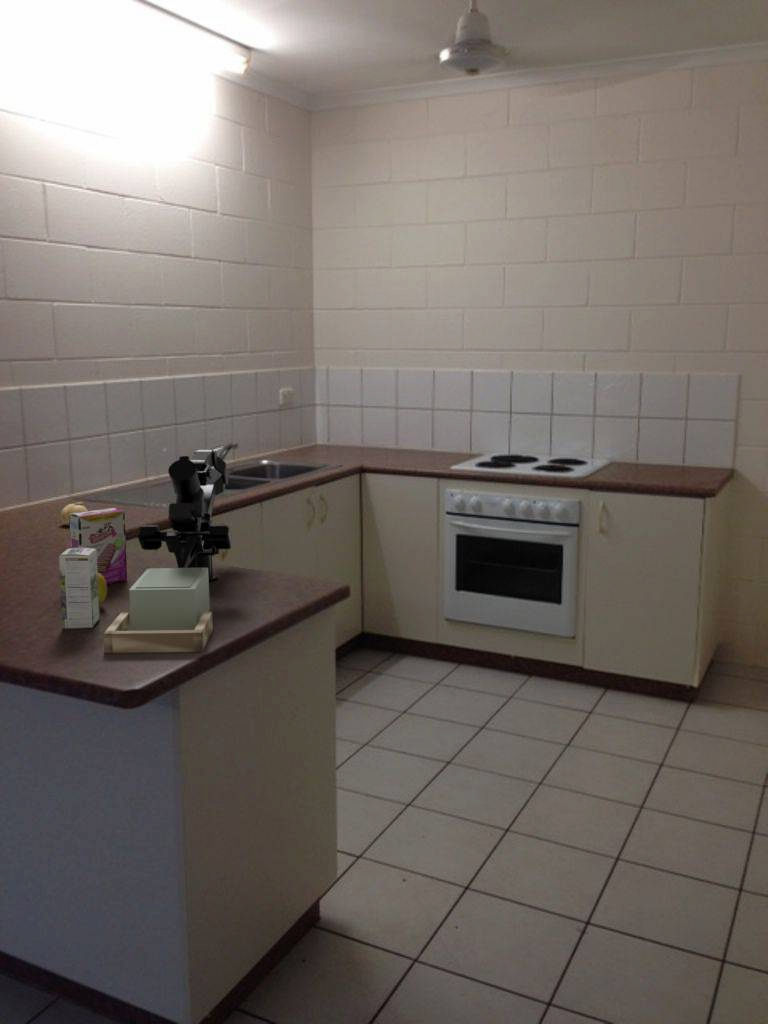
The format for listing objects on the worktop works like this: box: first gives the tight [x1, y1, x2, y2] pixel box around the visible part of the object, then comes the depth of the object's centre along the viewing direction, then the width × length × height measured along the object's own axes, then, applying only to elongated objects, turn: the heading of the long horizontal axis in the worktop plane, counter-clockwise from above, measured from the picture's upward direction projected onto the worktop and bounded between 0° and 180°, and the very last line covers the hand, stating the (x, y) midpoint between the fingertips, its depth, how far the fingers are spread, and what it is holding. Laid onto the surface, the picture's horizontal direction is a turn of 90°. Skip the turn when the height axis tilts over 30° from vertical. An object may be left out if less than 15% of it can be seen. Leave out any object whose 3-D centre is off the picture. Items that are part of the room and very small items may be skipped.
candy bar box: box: [69, 507, 128, 585], centre depth 205 cm, size 11×5×16 cm, turn 134°
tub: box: [128, 567, 211, 631], centre depth 177 cm, size 16×12×9 cm
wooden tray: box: [102, 611, 214, 654], centre depth 167 cm, size 12×17×4 cm
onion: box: [59, 500, 89, 527], centre depth 270 cm, size 8×8×7 cm
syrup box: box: [58, 547, 100, 630], centre depth 175 cm, size 6×6×14 cm
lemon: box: [98, 573, 108, 605], centre depth 187 cm, size 6×6×8 cm
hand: (181, 572), depth 187 cm, fingers closed
